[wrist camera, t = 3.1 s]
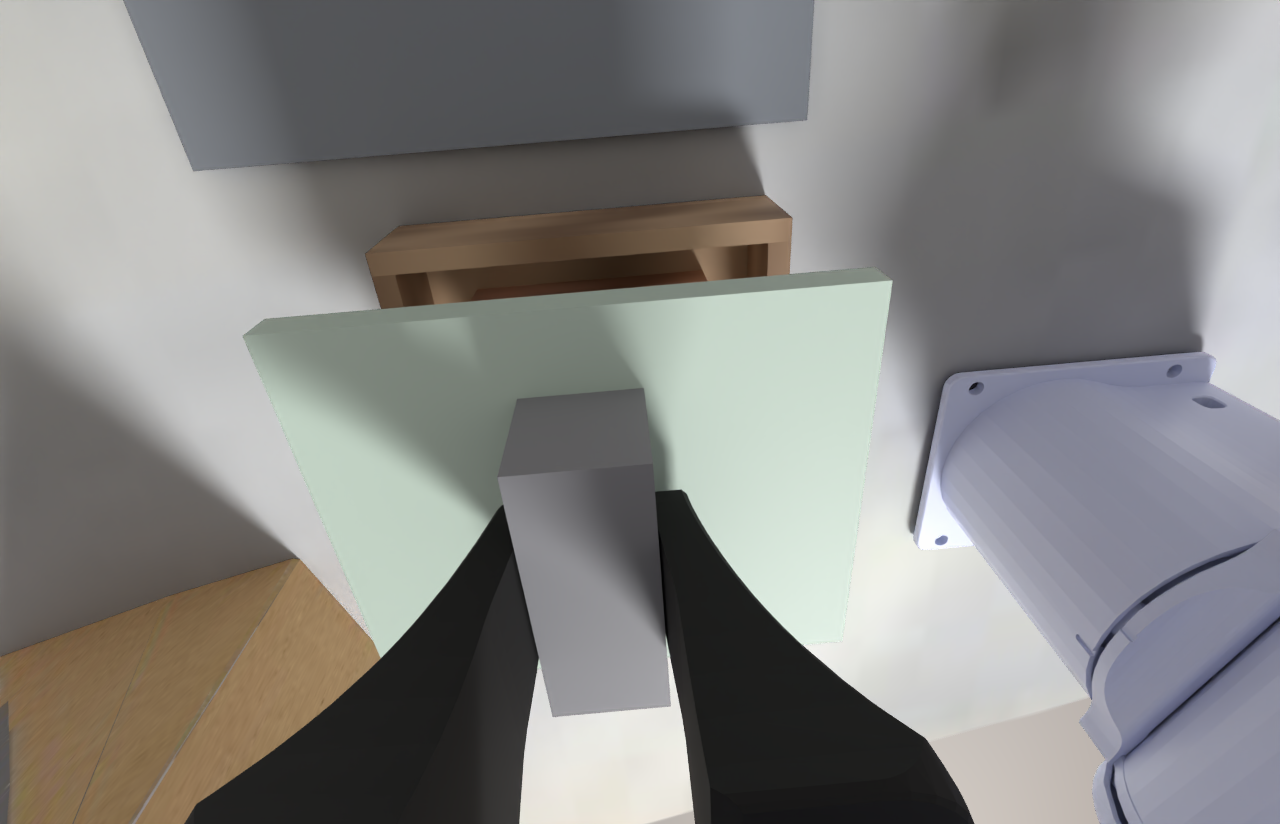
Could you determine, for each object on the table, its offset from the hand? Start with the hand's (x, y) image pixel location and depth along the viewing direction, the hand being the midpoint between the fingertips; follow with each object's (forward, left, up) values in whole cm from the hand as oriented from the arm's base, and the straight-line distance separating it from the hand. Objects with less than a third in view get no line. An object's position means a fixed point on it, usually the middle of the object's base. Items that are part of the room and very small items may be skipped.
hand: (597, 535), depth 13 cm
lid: (0, 0, -2) cm, 2 cm away
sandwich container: (+19, +14, -10) cm, 25 cm away
